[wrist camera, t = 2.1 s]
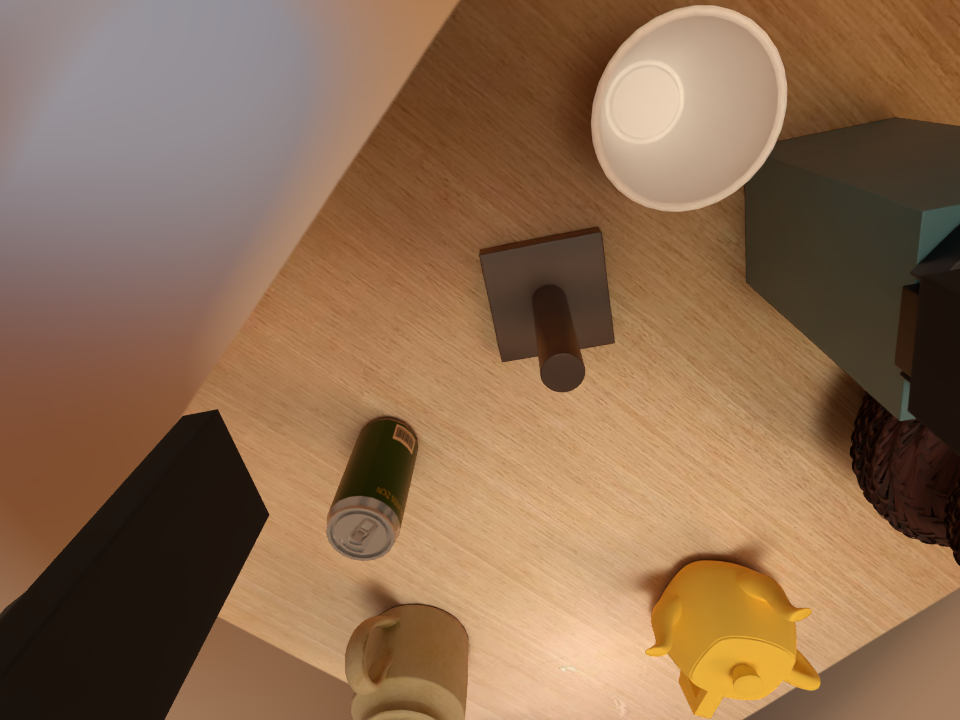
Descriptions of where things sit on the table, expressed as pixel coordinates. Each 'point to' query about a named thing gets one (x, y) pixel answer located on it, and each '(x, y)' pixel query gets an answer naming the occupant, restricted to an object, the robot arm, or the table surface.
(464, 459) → the table surface
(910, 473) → the vase
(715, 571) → the teapot
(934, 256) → the ring
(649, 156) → the cup
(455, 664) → the lidded mug
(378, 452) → the beer can
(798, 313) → the stand
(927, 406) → the robot arm
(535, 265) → the holder
